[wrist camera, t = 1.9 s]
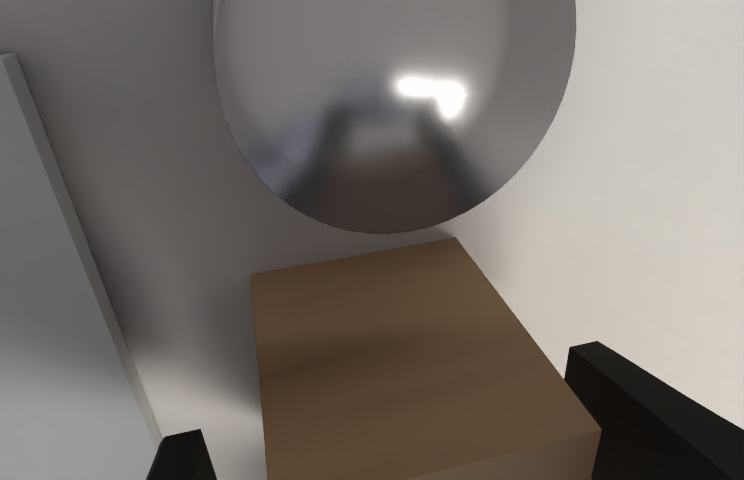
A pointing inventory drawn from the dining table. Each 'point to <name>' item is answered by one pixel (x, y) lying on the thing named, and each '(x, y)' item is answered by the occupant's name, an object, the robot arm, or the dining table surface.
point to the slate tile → (58, 323)
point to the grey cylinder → (390, 100)
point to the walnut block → (409, 375)
